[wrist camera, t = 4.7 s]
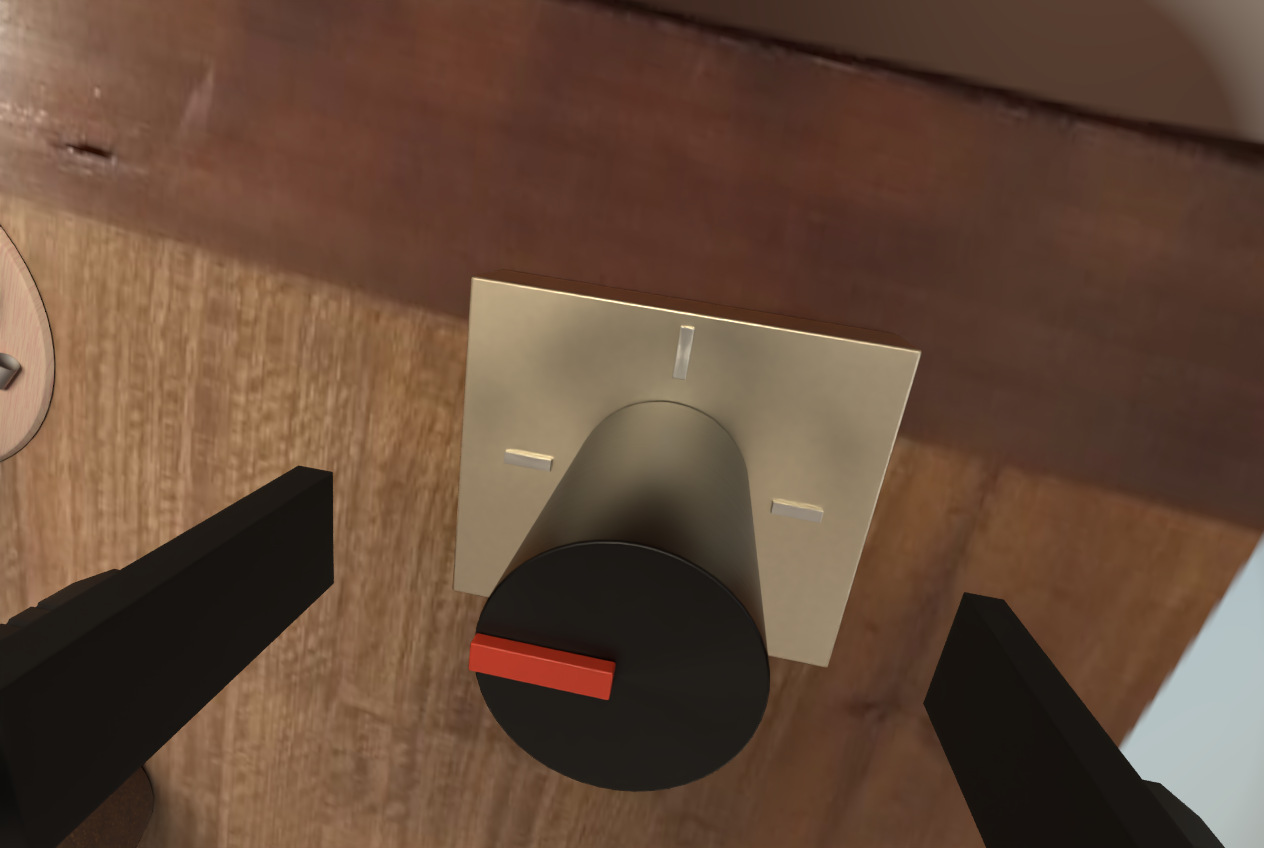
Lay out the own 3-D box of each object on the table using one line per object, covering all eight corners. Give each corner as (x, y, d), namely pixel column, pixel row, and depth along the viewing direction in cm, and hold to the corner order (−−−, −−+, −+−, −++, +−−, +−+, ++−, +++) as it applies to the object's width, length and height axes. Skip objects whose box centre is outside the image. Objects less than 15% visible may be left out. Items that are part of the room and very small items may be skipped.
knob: (765, 419, 17) (805, 587, 9) (729, 577, 19) (736, 835, 11) (585, 387, 17) (475, 521, 10) (565, 545, 19) (457, 771, 11)
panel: (897, 333, 18) (926, 351, 16) (816, 620, 22) (828, 673, 19) (500, 268, 19) (467, 275, 17) (479, 552, 22) (448, 594, 20)
